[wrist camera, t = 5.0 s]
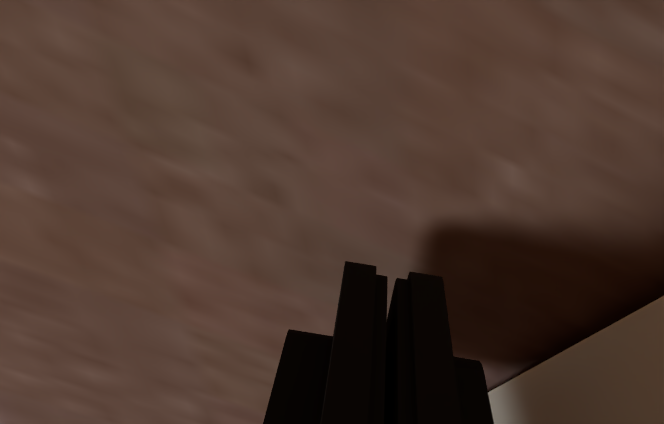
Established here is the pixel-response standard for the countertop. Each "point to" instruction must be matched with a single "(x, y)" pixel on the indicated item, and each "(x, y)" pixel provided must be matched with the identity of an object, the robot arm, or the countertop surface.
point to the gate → (594, 378)
